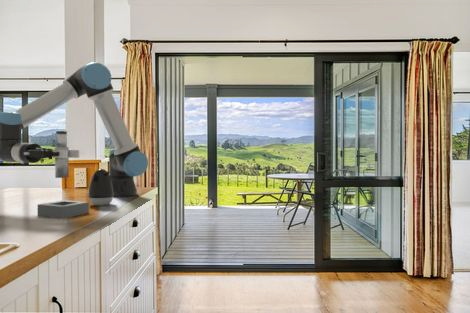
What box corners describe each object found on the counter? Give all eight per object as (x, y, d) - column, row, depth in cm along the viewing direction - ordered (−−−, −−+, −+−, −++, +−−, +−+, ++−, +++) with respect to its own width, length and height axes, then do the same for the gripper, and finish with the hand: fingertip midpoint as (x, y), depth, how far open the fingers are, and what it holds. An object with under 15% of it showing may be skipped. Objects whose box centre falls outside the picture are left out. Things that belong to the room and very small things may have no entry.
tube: (62, 176, 139) (62, 131, 138) (71, 177, 137) (71, 131, 137) (52, 177, 135) (52, 131, 134) (61, 177, 133) (61, 131, 133)
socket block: (65, 210, 144) (65, 199, 144) (88, 212, 139) (88, 202, 139) (37, 215, 133) (37, 204, 133) (62, 218, 128) (62, 207, 128)
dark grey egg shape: (97, 207, 150) (97, 170, 150) (83, 205, 157) (83, 168, 156) (119, 204, 159) (119, 168, 158) (104, 202, 165) (104, 167, 164)
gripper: (47, 161, 151) (91, 163, 142) (5, 163, 135) (52, 165, 126) (47, 143, 151) (91, 143, 141) (5, 142, 135) (51, 143, 125)
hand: (72, 154), depth 134 cm, fingers closed on tube, 4 cm apart
